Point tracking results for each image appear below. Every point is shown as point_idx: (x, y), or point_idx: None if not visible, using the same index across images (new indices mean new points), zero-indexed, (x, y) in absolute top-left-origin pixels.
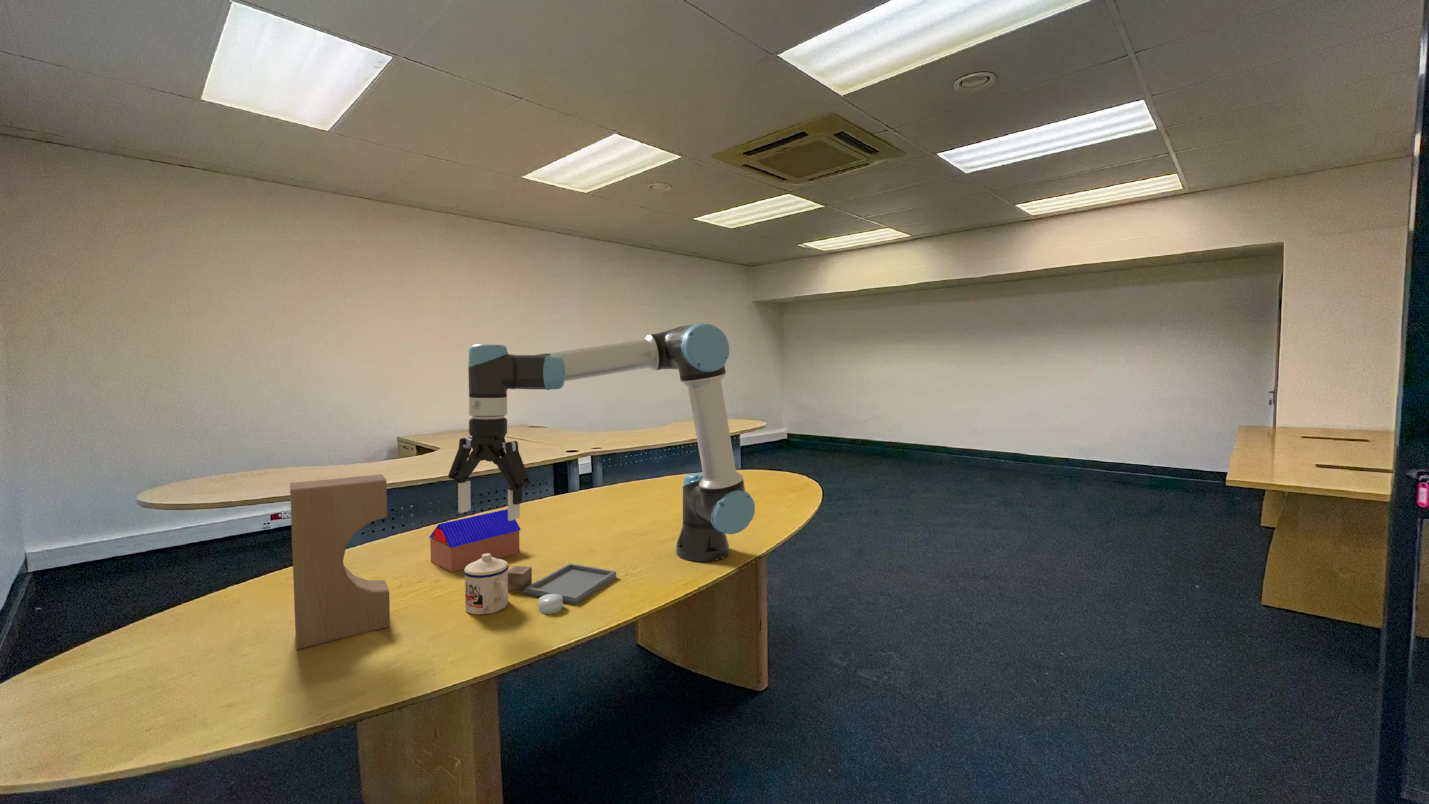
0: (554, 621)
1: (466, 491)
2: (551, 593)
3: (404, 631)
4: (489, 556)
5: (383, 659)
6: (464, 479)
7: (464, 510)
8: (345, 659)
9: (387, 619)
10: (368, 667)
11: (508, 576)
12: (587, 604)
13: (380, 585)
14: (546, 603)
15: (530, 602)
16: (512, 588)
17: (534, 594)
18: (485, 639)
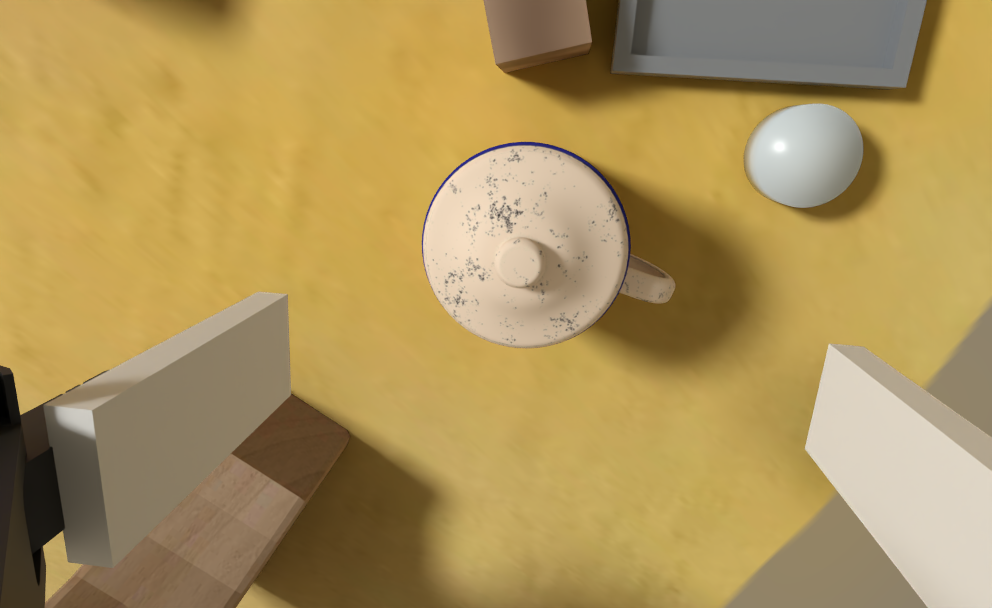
0: (861, 246)
1: (181, 414)
2: (765, 79)
3: (413, 442)
4: (544, 269)
5: (490, 565)
6: (24, 483)
7: (282, 363)
8: (401, 584)
9: (340, 453)
10: (488, 599)
11: (515, 61)
12: (940, 63)
13: (238, 482)
14: (815, 205)
15: (678, 133)
16: (537, 63)
17: (665, 76)
18: (689, 417)
